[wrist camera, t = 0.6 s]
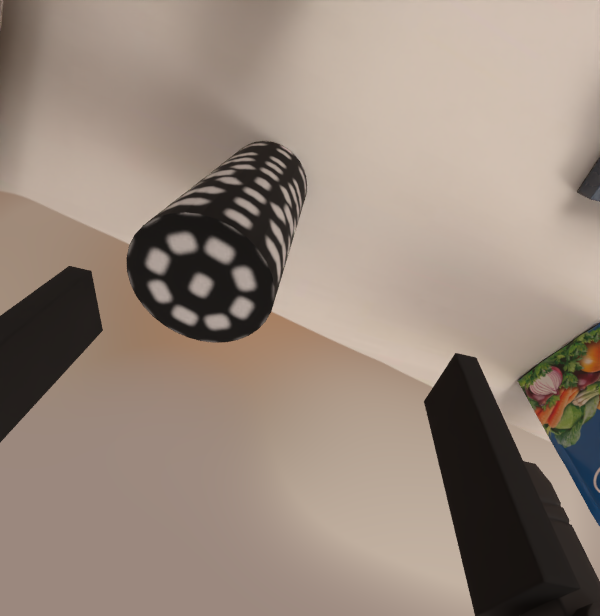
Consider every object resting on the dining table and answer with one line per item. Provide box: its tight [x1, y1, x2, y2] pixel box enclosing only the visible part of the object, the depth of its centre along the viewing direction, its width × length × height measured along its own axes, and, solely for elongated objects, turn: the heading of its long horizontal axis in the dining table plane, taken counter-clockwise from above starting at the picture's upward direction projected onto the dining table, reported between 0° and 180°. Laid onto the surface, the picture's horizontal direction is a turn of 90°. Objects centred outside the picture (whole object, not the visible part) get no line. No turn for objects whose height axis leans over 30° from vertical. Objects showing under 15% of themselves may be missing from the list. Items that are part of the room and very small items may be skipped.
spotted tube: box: [127, 141, 307, 342], centre depth 27 cm, size 8×8×20 cm
